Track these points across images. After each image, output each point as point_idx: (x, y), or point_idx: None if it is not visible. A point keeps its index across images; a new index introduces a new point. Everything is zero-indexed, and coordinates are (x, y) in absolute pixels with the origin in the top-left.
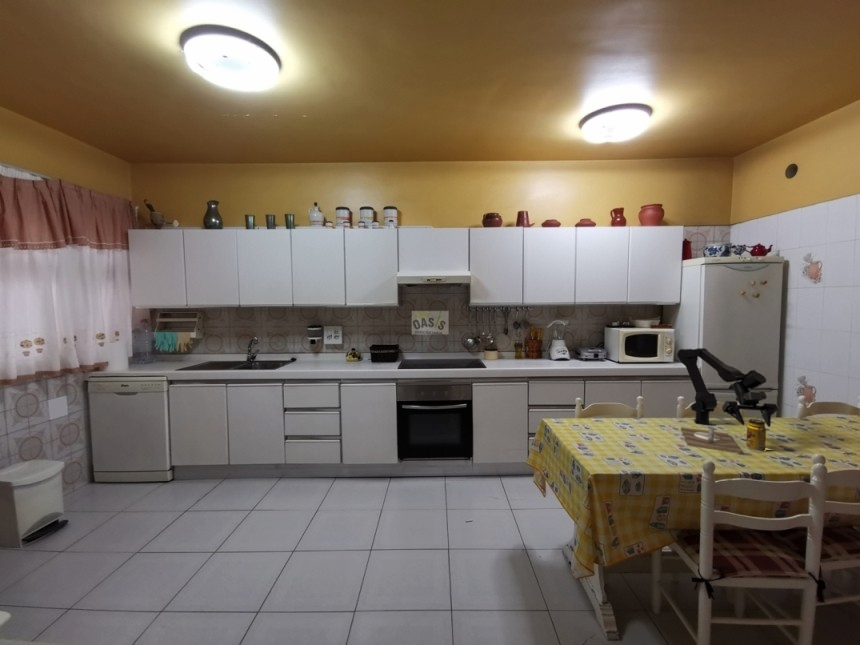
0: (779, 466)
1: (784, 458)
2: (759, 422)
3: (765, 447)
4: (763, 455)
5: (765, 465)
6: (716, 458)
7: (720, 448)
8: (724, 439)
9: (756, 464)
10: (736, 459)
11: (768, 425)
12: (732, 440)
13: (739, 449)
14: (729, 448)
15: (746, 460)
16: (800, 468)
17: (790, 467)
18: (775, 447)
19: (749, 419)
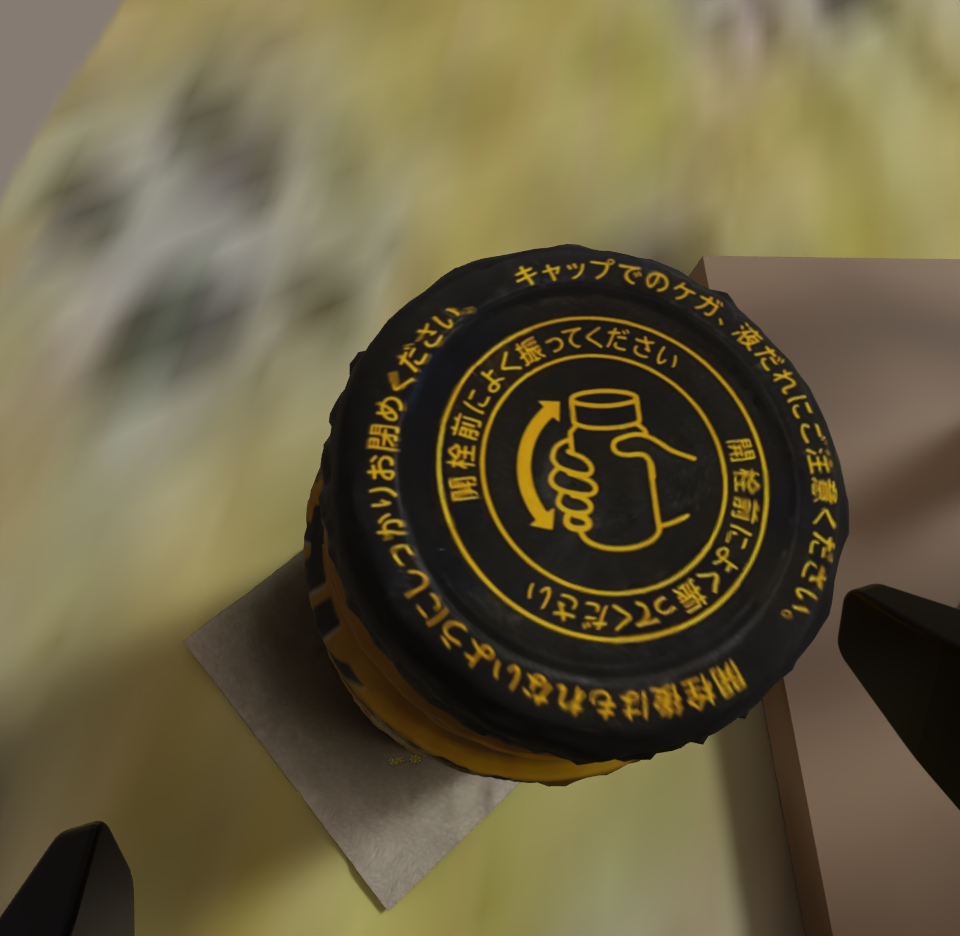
0: (339, 37)
1: (175, 330)
2: (543, 258)
3: (296, 747)
4: None
5: (477, 14)
6: (898, 24)
7: (905, 268)
8: None
9: (558, 9)
10: (729, 68)
11: (116, 876)
12: (794, 701)
13: (710, 286)
14: (820, 270)
15: (639, 78)
16: (120, 61)
17: (226, 51)
18: None
19: (835, 538)
